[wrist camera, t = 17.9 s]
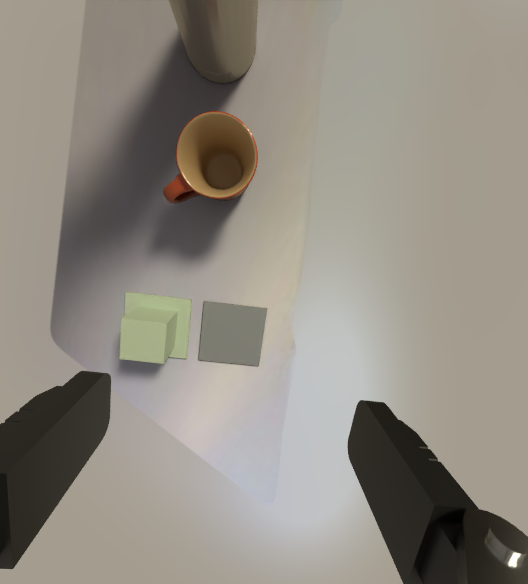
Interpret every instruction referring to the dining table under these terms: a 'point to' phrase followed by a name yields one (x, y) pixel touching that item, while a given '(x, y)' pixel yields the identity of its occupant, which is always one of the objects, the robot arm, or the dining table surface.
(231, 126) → the mug
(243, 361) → the grey pad
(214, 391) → the dining table surface
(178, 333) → the sage pad
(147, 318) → the pale green cube
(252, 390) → the dining table surface
